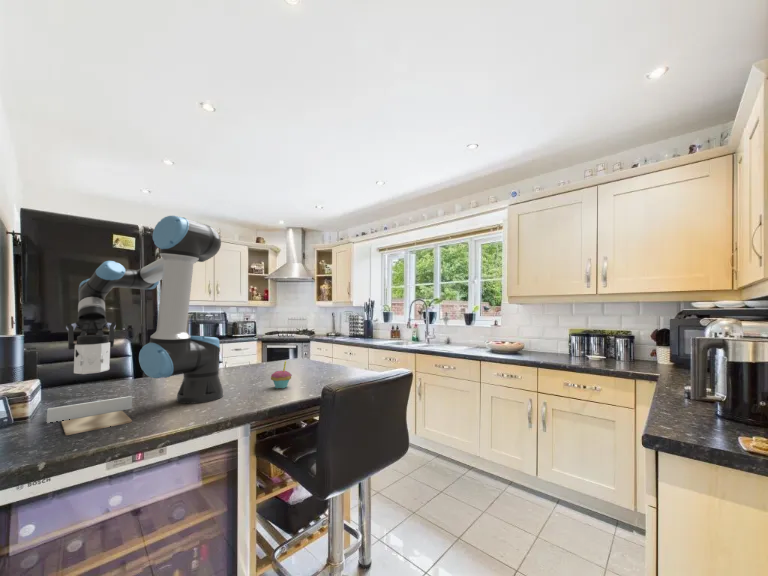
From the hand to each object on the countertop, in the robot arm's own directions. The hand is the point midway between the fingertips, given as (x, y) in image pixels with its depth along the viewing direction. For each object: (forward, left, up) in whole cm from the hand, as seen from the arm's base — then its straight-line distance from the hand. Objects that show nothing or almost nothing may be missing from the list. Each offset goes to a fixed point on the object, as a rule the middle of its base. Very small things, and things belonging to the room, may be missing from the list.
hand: (91, 362), depth 108 cm
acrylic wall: (-3, +4, -16) cm, 17 cm away
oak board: (-10, +12, -16) cm, 22 cm away
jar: (+2, -3, -4) cm, 5 cm away
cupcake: (-56, -27, -16) cm, 64 cm away
